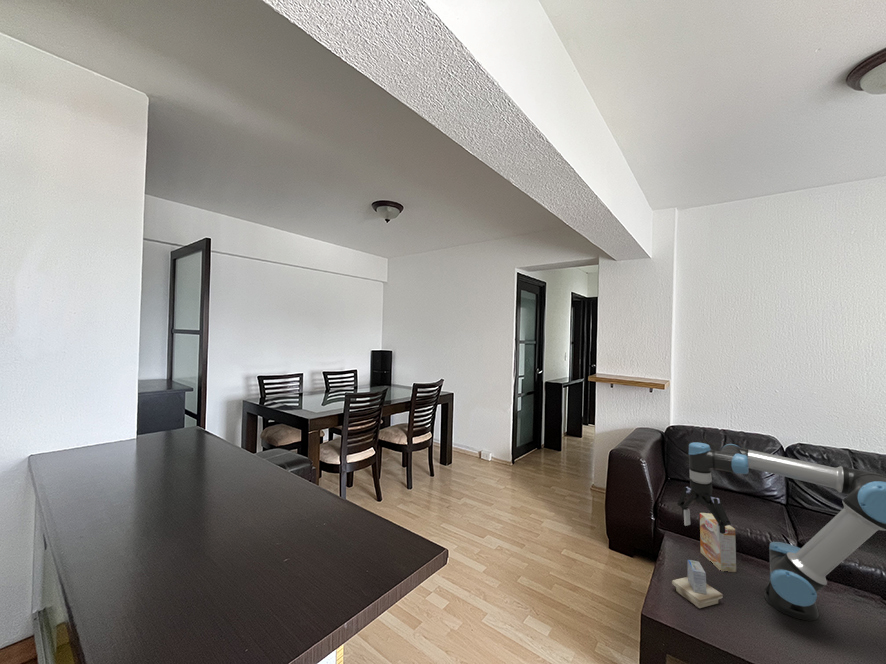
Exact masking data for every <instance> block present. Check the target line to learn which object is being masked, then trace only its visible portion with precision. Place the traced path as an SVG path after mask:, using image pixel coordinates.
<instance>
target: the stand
mask: <svg viewBox="0 0 886 664" xmlns="http://www.w3.org/2000/svg"><path fill="white" fill-rule="evenodd" d="M671 585H673V586H674V587H675V589H676V590H675V591H676V593H678V594H679V595H681V596H682V597H683V598H684V599H686V600H687V601H688V602H690V603H692V604H693V605H695V607H697V608H698V609H703V608H706V607H710V606H713V605H717V604H719V600H721V599H723V593H722V592H720V591H718V590H717V589H716V588H713V586H711V585H709V584H708V583H706V592H707V594H701V593H696V592H694V591H693V589H692V587H691V585H690V583H689V581H688V576H686V577H681V578H676V579H672V580H671Z"/></svg>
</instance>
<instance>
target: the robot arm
mask: <svg viewBox="0 0 886 664" xmlns="http://www.w3.org/2000/svg"><path fill="white" fill-rule="evenodd" d="M688 465H689V469H688V471H689V486H685V487H683V492H682V494H681V496H680V497H679V499H678V501H677V503H676V504H677V506H680V508H681V510H682V511H681V512H682V513H681V514H682V517H683V520H684V521H683V523H684V524H683V525H684V526H685V527H686V526H687V527H688V526H690V525H691V511H690V510H691V509H690V508H689V507H690V506H692V505H693V504H694V503H695V502H696V503H698V504H701V505H703V506H705V507H706V508H707V509H708V510H709V511H710V513H712V515H713V516H714V518H715V519H716V521H717V522H718V524H716V525H717V541H719V542H720V541H723V540H724V533H725V526H728V525H730V526H731V522H730V519H729V517H728V515H727V512H726V510H725V509H724V507H723V504H722V501H721V498H720V497H714V496H713V495H712V493H713V482H712V481H713V480H712V470H718V471H723V472H727V473H733V474H738V475H739V474H741V475H747V474H749V473H750V472H749V469H752V470H757V471H760V472H764V473H769V474H772V475H778V476H781V477H786V478H790V479H794V480H797V481H800V482H801V481H802V482H807V483H811V484H815V485H819V486H824V487H826V488H832V489H834V490H836V491H837V492H838V493H840V494H843V495H846V497H845V498H844V499H842V500H841V501H842V504H843V508H842V509H841V510H840V511H839V512H838V513H837V514H836V515H835V516H834V517H833V518H831V520H830V521H829V522H828V523H826V524H825V526H823V527H822V528H821V529H820V530H819V531H818V532H817V533H816V534H815V535H814V536H813V537H811V538H810V539H809V540H808V541H807V542H806V543H805V544H804V545H803V546H802V547H799V546H796V545H793V544H789V543H786V542H781V541H771V542H770V543H769V547H768V550H769V580H768V583H767V585H766V587H765V588H764V589H765V590H764V599H765V601H766V602H767V603H768V604H769V605H770V606H771V607H772V608H774V609H775V610H777V611H778V612H779V611H780V612H781V613H783V614H785V615H787V616H789V617H792V618H795V619H799V620H803V621H808V622H809V621H816V620H818V619H819V608H818V606H817V604H816V601H817V600H818V599H817V598H818V592H819V591H821V590H822V589H824V587H825V586H827V584H828V581H827V578H826V577H827V576H828V575H829V574H830V573H831V572H832V571H833V570H834V569H835V568H836V567H838V566H839V565H840V564H841V563H842V562H844V561H845V559H847V558H848V557H849V556H850V555H852V554H853V553H854V552H856V550H857V549H858V548H860V547H861V546H862V544H864V543H865V542H866V541H867V540H868V539H870V538H871V537H872V536H874V534H875V533H876V532H878V531H886V476H885V475H884V474H880V473H876V472H872V471H868V470H863V469H857V468H852V467H847V466H841V465H840V466H838V467H832V466H828V465H824V464H819V463H814V462H811V461H805V460H800V459H795V458H791V457H787V456H786V457H785V456H781V455H777V454H771V453H767V452H762V451H757V450H753V449H748V448H744V447H740V446H739V445H736V444H733V443H728V444H725V445H724V446H722V447H721V450H713V449H711V447H710V445H709V444H707V443H703V442H696V441H695V442H694V441H693V442H690V443H689V444H688ZM690 494H691V497H690V498H689V499H688V497H689V495H690ZM687 499H688V500H687Z"/></svg>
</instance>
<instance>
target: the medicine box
mask: <svg viewBox="0 0 886 664" xmlns="http://www.w3.org/2000/svg"><path fill="white" fill-rule="evenodd" d="M686 563H687V565H686V566H687V567H686V569H687V577H688V581H689V583H690V585H691V587H692V589H693V591H694V592H696V593H701V594H707V592H706V584H707V574H706V571H705V570H704V568H703V566H702V565H701V562H700V561H698V560H692V559H687V562H686Z"/></svg>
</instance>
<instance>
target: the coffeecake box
mask: <svg viewBox="0 0 886 664" xmlns="http://www.w3.org/2000/svg"><path fill="white" fill-rule="evenodd" d="M716 524H718V522H717V521H716V519H715V518H714V516H713V515H712V513H711V512H710V513H709V512H708V513H706V512H699V530H700V531H699V532H700V534H699V535H700V537H699V540H700V543H699V544H700V547H699V548H700V554H702V556H704V557H705V558H706V559H707V560H708V561H709V562H710V561H711V562H712V563H713V566H715V567H716V568H717V570H719V571H720V570H721V571H720V572H724V571H728V572H730V573H737V543H736V528H734V527H733V526H732V525H731V524H730V525H728V526H725V533H724V540H723V541H720V542H719V541H717V525H716ZM711 562H710V563H711ZM712 563H711V564H712Z"/></svg>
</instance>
